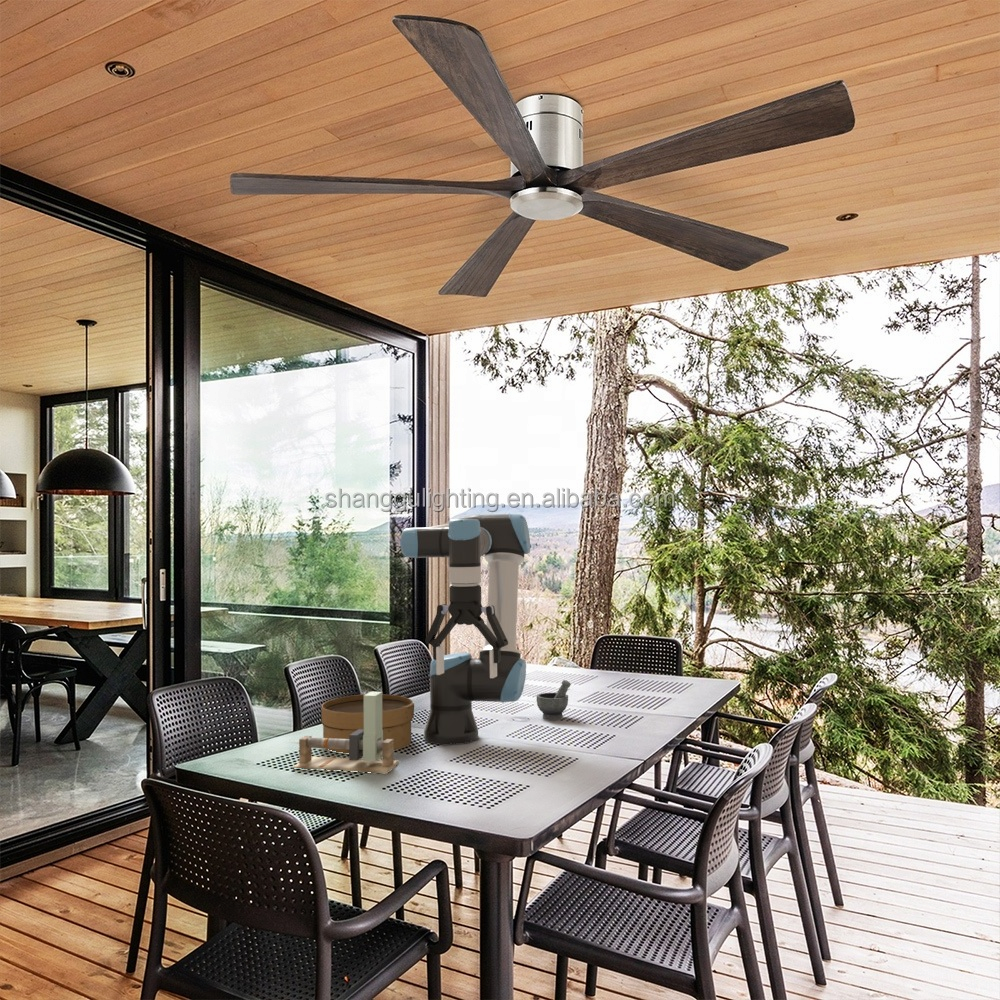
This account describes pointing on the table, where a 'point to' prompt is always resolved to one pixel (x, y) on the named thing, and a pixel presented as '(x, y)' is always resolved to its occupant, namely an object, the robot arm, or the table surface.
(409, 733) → the steamer basket
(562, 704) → the mortar and pestle
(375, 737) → the pale green upright panel
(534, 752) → the table surface
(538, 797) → the table surface
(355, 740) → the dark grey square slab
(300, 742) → the pipe stand
